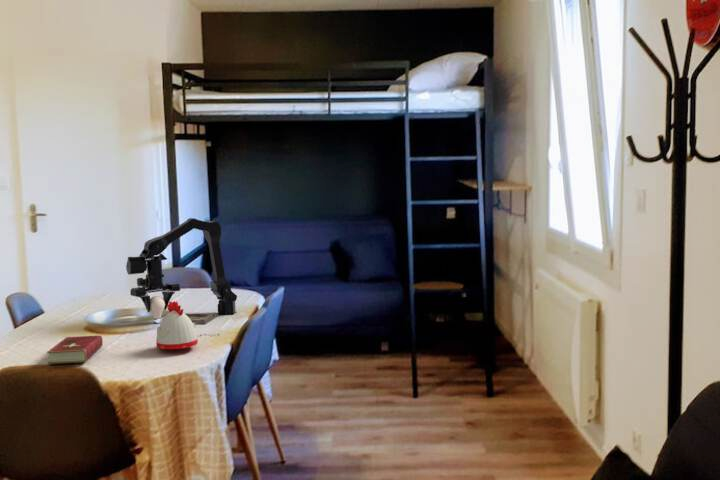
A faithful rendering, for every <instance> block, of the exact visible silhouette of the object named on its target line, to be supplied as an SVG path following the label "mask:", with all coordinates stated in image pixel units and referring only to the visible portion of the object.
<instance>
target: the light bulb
mask: <svg viewBox="0 0 720 480" xmlns="http://www.w3.org/2000/svg"><path fill="white" fill-rule="evenodd" d="M164 307H165V302H164V300H163V297H161V296H157V295H155V296H152V297H150V313H151V314H152V318H153V321H154V320H157V319H161V320H162V314H163V312H164V311H165V310H164Z"/></svg>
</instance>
